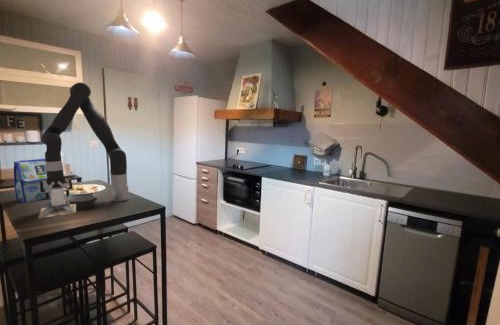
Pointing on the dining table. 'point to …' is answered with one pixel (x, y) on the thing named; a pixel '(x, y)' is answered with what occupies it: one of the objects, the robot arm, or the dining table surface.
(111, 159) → the robot arm
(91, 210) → the dining table surface
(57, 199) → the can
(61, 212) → the shaft board
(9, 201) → the dining table surface
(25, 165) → the lunch bag
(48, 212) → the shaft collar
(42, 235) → the dining table surface
